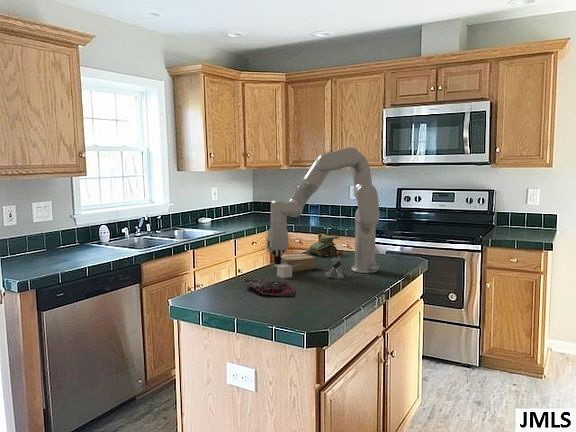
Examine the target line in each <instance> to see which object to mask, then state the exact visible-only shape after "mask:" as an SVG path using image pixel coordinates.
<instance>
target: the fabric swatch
mask: <svg viewBox="0 0 576 432" xmlns="http://www.w3.org/2000/svg"><path fill="white" fill-rule="evenodd" d="M244 283H246V284H247V285H249V286H250V287H251V288H252V289H253V290H254V289H255V291H256V292H258V294H262V295H269V296H277V297H295V294H296V289H295V288H293V286H291V285H290V284H289V283H288V282H286V281H283V280H282V281H281V280H273V281H263V280H256V279H245V280H244Z"/></svg>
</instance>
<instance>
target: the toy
mask: <svg viewBox="0 0 576 432" xmlns="http://www.w3.org/2000/svg"><path fill="white" fill-rule="evenodd" d="M339 238H340V236H338V235H337V236H328V235H324V236H320V237H319V240H318V241H316V242H315V243H313V244H312V245H309V249H308V251H307V252H308V253H307V254H308V255H309V256H313V255H314V254H315V255H317V256H318V258H324V257H323V256H326V255H330V254H331V255H332V254H335V255H337V253H338V248H337V247H336V245H337V244H336V243H335V242H334V240H335V239H339ZM315 255H314V256H315ZM332 256H333V255H332Z"/></svg>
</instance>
